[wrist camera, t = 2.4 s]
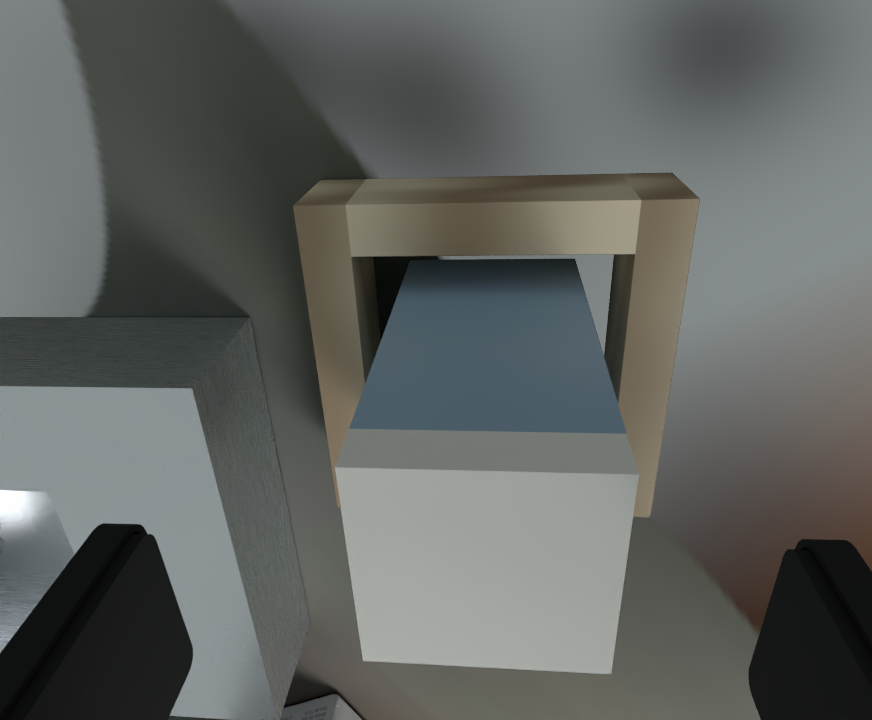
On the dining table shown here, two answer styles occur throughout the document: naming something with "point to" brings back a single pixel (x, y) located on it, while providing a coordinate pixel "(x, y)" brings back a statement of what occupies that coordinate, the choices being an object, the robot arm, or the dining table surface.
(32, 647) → the robot arm
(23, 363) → the port
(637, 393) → the wooden square frame
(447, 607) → the plug
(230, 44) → the dining table surface
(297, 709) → the coffee box
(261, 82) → the dining table surface
